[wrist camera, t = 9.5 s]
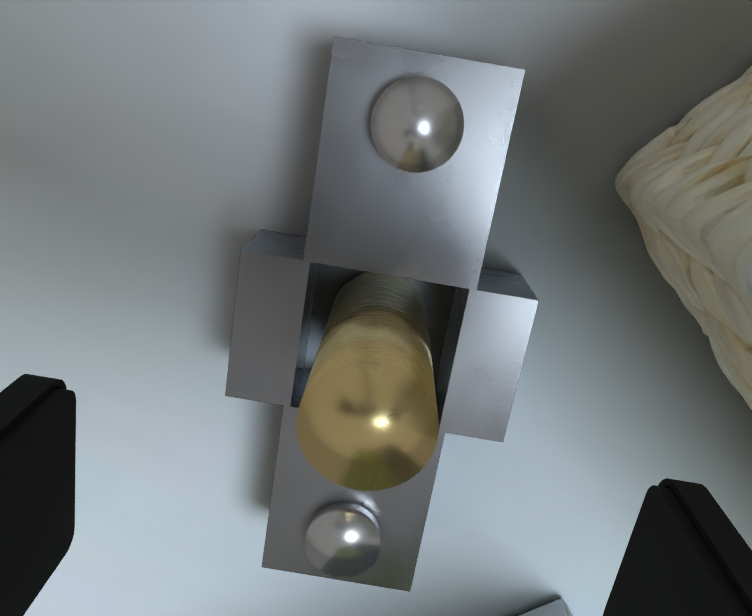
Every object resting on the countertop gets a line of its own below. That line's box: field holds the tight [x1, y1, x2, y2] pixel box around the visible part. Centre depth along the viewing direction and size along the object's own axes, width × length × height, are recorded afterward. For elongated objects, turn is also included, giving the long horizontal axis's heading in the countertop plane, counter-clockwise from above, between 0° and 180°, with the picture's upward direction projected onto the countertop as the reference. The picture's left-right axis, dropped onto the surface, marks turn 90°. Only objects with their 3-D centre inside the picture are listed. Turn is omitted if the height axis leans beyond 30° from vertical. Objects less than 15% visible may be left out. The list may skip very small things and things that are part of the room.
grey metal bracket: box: [225, 36, 538, 591], centre depth 21 cm, size 17×9×4 cm, turn 171°
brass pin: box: [296, 272, 439, 491], centre depth 19 cm, size 3×3×8 cm
